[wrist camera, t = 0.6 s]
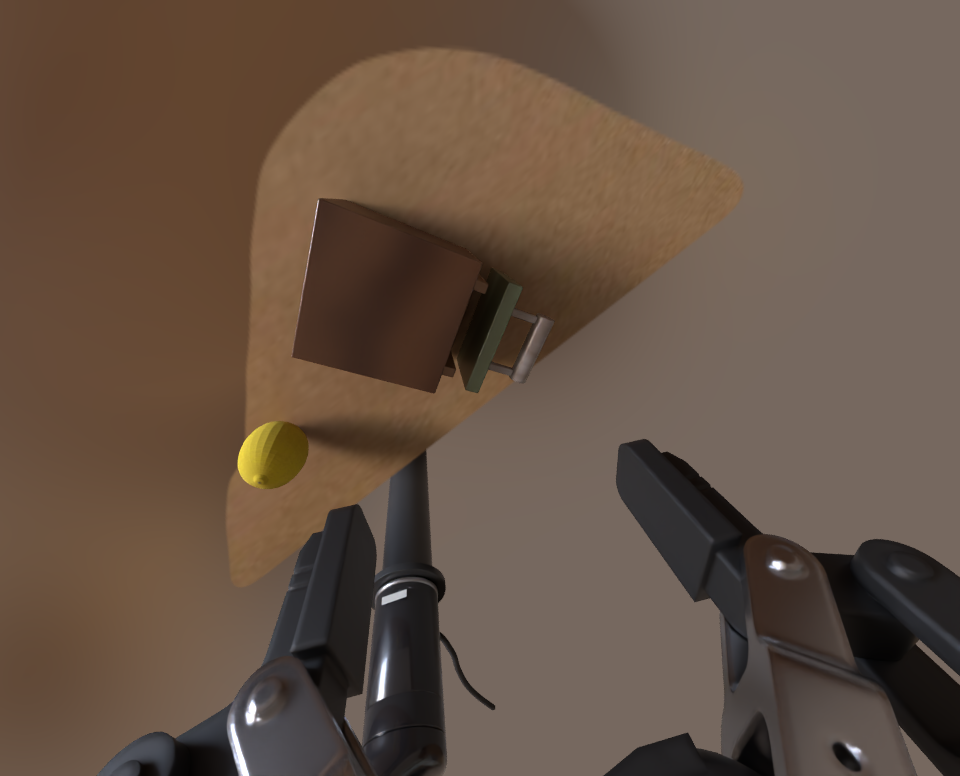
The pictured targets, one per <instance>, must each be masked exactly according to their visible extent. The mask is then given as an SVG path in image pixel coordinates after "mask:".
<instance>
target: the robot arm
mask: <svg viewBox="0 0 960 776" xmlns="http://www.w3.org/2000/svg"><path fill="white" fill-rule="evenodd" d="M616 484H617V488H618V492H619V494H620V496H621V499H622V500H623V502H624V503H625V504H626V506H627V507H628V509H629V510H630V511H631V513H632V514H633V516H634V517H635V519H636V520H637V521H638V523H639V524H640V525H641V527H642V528H643V530H644V531H645V533H646V534H647V535H648V537H649V538H650V540H651V541H652V543H653V544H654V545H655V547H656V548H657V550H658V551H659V552H660V554H661V555H662V557H663V558H664V560H665V561H666V562H667V564H668V565H669V567H670V568H671V569H672V571H673V572H674V573H675V575H676V576H677V578H678V579H679V581H680V582H681V583H682V585H683V586H684V588H685V589H686V591H687V592H688V593H689V595H690V596H691V598H692V599H693V600H694V602H697V601H701V600H705V599H708V598H711V599H712V601H713V602H714V603H715V605H716V606H717V607H718V608H719V610H720V632H721V648H722V665H723V680H724V709H723V715H722V725H721V752H722V755H721V754H718V753H716V752H712V751H707V750H704V749H697V748H696V747H695V745H694V743H693V741H692V739H691V737H690V736H689V734H688V733H685V734H681V735H678V736H675V737H672V738H668V739H665V740H662V741H658V742H655V743H652V744H648V745H645V746H642V747H639V748H637V749H635V750H634V751H633V752H632V753H631V754H630V755H628V756H627V757H626V758H624V759H623V760H622V761H621V762H620V763H618V764H617V765H616V766H615V767H614V768H612V769H611V770H610V771H609V772H608V773H606V774H605V775H604V776H917V774H916V771H915V769H914V766H913V763H912V760H911V758H910V755H909V752H908V749H907V747H906V744H905V742H904V739H903V736H902V733H901V731H900V728H899V726H900V727H901V728H902V729H903V730H904V731H905V732H906V734H907V735H908V736H909V737H910V738H911V739H912V740H913V742H914V743H915V744H916V745H917V746H918V747H919V748H920V750H921V751H922V752H923V753H924V754H925V755H926V756H927V757H928V759H929V760H930V761H931V762H932V763H933V764H934V765H935V767H936V768H937V769H938V770H939V771H940V772H941V773H942V774H943V776H960V685H959V684H958V683H957V682H955V681H954V680H953V679H952V678H951V677H950V676H949V675H948V674H947V673H946V672H945V671H944V670H943V669H942V668H940V667H939V666H938V665H937V664H936V663H935V662H934V661H933V660H932V659H931V658H930V657H929V656H927V655H926V654H925V653H924V652H923V651H922V650H921V649H920V648H919V647H918V646H917V645H916V642H918V640H919V639H920V640H921V641H922V642H923V643H924V644H925V645H926V646H927V647H929V648H930V649H931V650H932V651H933V652H934V653H935V654H936V655H937V656H938V657H939V658H941V659H942V660H943V661H944V662H945V663H946V664H947V665H948V666H949V667H950V668H952V669H953V670H954V671H955V672H956V673H957V674H958V675H959V676H960V577H958V576H957V575H956V574H955V573H953V572H952V571H950V570H949V569H948V568H946V567H945V566H943V565H942V564H940V563H939V562H938V561H936V560H935V559H933V558H932V557H930V556H928V555H926V554H925V553H923V552H920V551H919V550H916V549H915V548H912V547H910V546H907V545H904V544H901V543H898V542H894V541H889V540H883V539H882V540H881V539H873V540H868V541H866V542H864V543H862V544H861V546H860V547H859V549H858V550H857V552H856V554H855V555H842V554H825V553H811V552H809V551H808V550H806V549H805V548H803V547H802V546H800V545H799V544H797V543H795V542H793V541H790V540H788V539H786V538H783V537H779V536H775V535H768V534H763V533H761V532H760V531H759V530H758V529H757V528H756V527H754V526H753V525H752V524H751V523H750V522H749V521H748V520H747V519H746V518H745V517H744V516H743V515H742V514H741V513H740V512H738V511H737V510H736V509H735V508H734V507H733V506H732V505H731V504H730V503H729V502H728V501H727V500H726V499H725V498H724V497H723V496H721V494H719V493H718V492H717V491H716V490H715V489H714V488H711V487H710V484H709V483H708V482H707V481H706V480H704V478H702V477H700V476H699V474H698V473H697V472H696V471H695V470H694V469H693V468H692V467H691V466H690V465H689V464H688V463H686V462H685V461H684V460H682V459H680V458H678V457H676V456H674V455H673V454H671V453H669V452H663V453H661V452H660V451H658V449H657V448H656V447H655V446H654V445H653V444H652V443H651V442H649V441H648V440H646V439H642V440H637V441H633V442H629V443H624V444H621V445H620V446H619V450H618V462H617V475H616ZM376 556H377V555H376V545H375V540H374V538H373V535H372V533H371V530H370V528H369V525H368V523H367V521H366V519H365V516H364V514H363V512H362V509H361V508H360V506H359V505H358V504H356V505H351V506H347V507H342V508H338V509H333V510H331V511H330V512H329V514H328V516H327V520H326V524H325V527H324V531H322V532H318V533H313V534H312V536H311V537H310V538H309V540H308V541H307V543H306V544H305V545H304V547H303V548H302V550H301V551H300V553H299V556H298V559H297V562H296V565H295V569H294V575H292V578H291V581H290V584H289V591H288V592H287V593H286V596H285V599H284V602H283V605H282V608H281V611H280V614H279V617H278V621H277V623H276V626H275V629H274V633H273V635H272V639H271V642H270V645H269V648H268V651H267V654H266V657H265V659H264V662H263V664H262V666H261V668H259V669H258V670H257V671H256V672H255V673H253V674H252V675H251V676H250V678H249V679H248V680H247V681H246V682H245V684H244V685H243V686H242V688H241V689H240V690H239V692H238V694H237V696H236V697H235V699H234V701H233V702H232V703H231V704H229V705H228V706H227V707H225V708H224V709H223V710H221V711H220V712H218V713H216V714H215V715H213V716H211V717H210V718H208V719H207V720H205V721H203V722H202V723H200V724H198V725H197V726H195V727H193V728H192V729H190V730H189V731H187V732H185V733H183V734H182V735H180V736H179V737H177V738H173V737H172V736H170V735H169V734H167V733H164V732H154V733H149V734H147V735H145V736H142V737H141V738H139V739H137V740H135V741H133V742H132V743H131V744H129V745H128V746H127V747H125V748H124V749H123V750H121V751H120V752H119V753H118V754H117V755H116V756H115V757H114V758H113V759H111V760H110V761H109V762H108V763H107V765H106V766H105V767H104V768H103V769H102V770H101V771H100V772H99V774H98V775H97V776H442V775H443V774H444V772H445V769H446V764H447V749H446V732H445V715H444V702H443V701H444V700H443V685H442V668H441V650H440V640H441V641H442V643H443V644H444V646H445V647H446V649H447V650H448V652H449V653H450V655H451V657H452V660H453V663H454V667H455V670H456V672H457V674H458V676H459V678H460V680H461V682H462V683H463V685H464V686H465V687H466V689H467V690H468V691H469V692H470V693H471V694H472V695H473V696H474V697H475V698H477V699H478V700H479V701H480V702H482V703H483V704H484V705H486V706H487V707H489V708H490V709H491V710H494V709H495V705H494V704H492V703H491V702H490V701H488V700H487V699H485V698H484V697H483V696H481V695H480V694H479V693H478V692H477V691H476V690H475V689H474V688H472V686H471V685H470V684H469V683H468V681H467V680H466V678H465V676H464V674H463V672H462V670H461V668H460V665H459V661H458V658H457V655H456V652H455V651H454V649H453V647H452V645H451V644H450V642H449V641H448V639H447V638H446V637H445V636H444V635H443V634H442V633H441V632H439V617H438V616H439V615H438V589H437V586H436V584H435V583H434V582H433V581H432V580H431V579H429V578H427V577H424V576H420V575H404V576H399V577H396V578H393V579H391V580H389V581H387V582H385V583H384V584H383V585H381V586H380V587H379V589H378V590H377V592H376V597H375V615H374V624H373V634H372V644H371V655H370V665H369V676H368V687H367V697H366V707H365V719H364V729H363V740H362V746H361V744H360V742H359V741H358V738H357V737H356V735H355V733H354V731H353V730H352V728H351V726H350V724H349V722H348V720H347V719H346V718H345V716H344V715H345V707H346V699H347V698H348V697H352V696H356V695H360V694H362V691H363V683H364V672H365V664H366V654H367V645H368V635H369V625H370V615H371V607H372V597H373V588H374V578H375V568H376Z"/></svg>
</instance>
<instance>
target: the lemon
mask: <svg viewBox="0 0 960 776" xmlns="http://www.w3.org/2000/svg"><path fill="white" fill-rule="evenodd" d="M307 456H308V440H307V437H306V435H305V434H304V432H303V431H302V430H301V429H300V428H299V427H298V426H296V425H294V424H292V423H289V422H283V421H276V422H270V423H267V424H264V425H262V426H261V427H259V428H257V429H256V430H254V431H253V432H252V433H251V434H250V435H249V437H248V438H247V439H246V440H245V442H244V443H243V446H242V448H241V450H240V453H239V457H238V469H239V472H240V475H241V476H242V478H243V479H244V480H245V481H246V482H247V483H248V484H250V485H252V486H254V487H257V488H261V489H273V488H278V487H280V486H283V485H285V484H287V483H288V482H289V481H291V480H292V479H293V478H294V477H295V476H296V475H297V474H298V473H299V471H300V470H301V469H302V467H303V466H304V464H305V462H306V459H307Z"/></svg>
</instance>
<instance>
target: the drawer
mask: <svg viewBox="0 0 960 776" xmlns="http://www.w3.org/2000/svg"><path fill="white" fill-rule="evenodd" d="M522 289H523V287H522V286H521V285H519V284H518V283H517V282H515V281H514V280H513V279H511V278H510V277H509V276H508V275H506V274H505V273H504V272H502V271H500V270H497V269H495V268H491V269H490V272H489V275H488V277H487V280H486V281H485V280H484V279H483V278H482V277H481V276H480V275H478V278H477V281H476V284H475V286H474V289H473V290H474V291H477V292H479V293H481V296H480V298H479V301H478V304H477V306H476V309H475V311H474V314H473V317H472V319H471V322H470V325H469V327H468V330H467V332H466V335H465V338H464V340H463V343H462V346H461V348H460V351H459V353H458V356H457V361H458V365H459V369H460V372H461V376H462V380H463V383H464V387H465V390H468V391H471V392H475V393H478V392H479V390H480V387H481V385H482V383H483V380H484V378H485V376H486V373H487V371H488V369H489V370H492V371H495V372H499V373H502V374H506V375H509V377H510V378H511V379H512V380H514V381H516V382H519V383H525V382H526V380H527V378H528V376H529V373H530V371H531V369H532V367H533V365H534V363H535V361H536V359H537V357H538V355H539V353H540V351H541V349H542V347H543V345H544V342H545V340H546V338H547V336H548V334H549V332H550V330H551V328H552V326H553V324H554V322H555V321H554V320H553V319H551V318H550V317H548V316H545V315H543V314H539V313H537V315H536V316H535V315H533V314H530V313H528V312H525V311H522V310H519V309H517V308H515V305H516V303H517V301H518V298H519V296H520V294H521V291H522ZM511 316H514V317H516V318H519V319H522V320H525V321H528V322H531V323H533V324H532V326H531V328H530V330H529V332H528V334H527V337H526V339H525V341H524V343H523V345H522V348H521V350H520V352H519V354H518V356H517V359H516V361H515V363H514V365H513V367H512V368H511V367H508V366H505V365H501V364H498V363H495V362H492V359H493V357H494V355H495V352H496V350H497V348H498V345H499V343H500V340H501V338H502V336H503V333H504V331H505V329H506V326H507V324H508V322H509V319H510V317H511ZM455 371H456V368H455V364H454V360H453V356H452V352H451V351H450V354H449V357H448V359H447V362H446V365H445V367H444V370H443V373H442V375H445V376H449V377H453V376H454V373H455Z"/></svg>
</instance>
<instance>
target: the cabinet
mask: <svg viewBox="0 0 960 776" xmlns="http://www.w3.org/2000/svg"><path fill="white" fill-rule="evenodd" d="M482 265H483V263H482V262H481V261H480V260H479V259H477V258H476V257H475V256H474V255H473V254H472V253H470V252H469V251H468V250H467V249H466V248H463V247H461V246H458V245H456V244H453V243H451V242H448V241H446V240H443V239H441V238H438V237H436V236H433V235H431V234H428V233H426V232H423V231H421V230H419V229H416V228H414V227H411V226H409V225H406V224H404V223H401V222H399V221H396V220H394V219H391V218H389V217H386V216H384V215H381V214H379V213H377V212H374V211H372V210H369V209H367V208H364V207H362V206H359V205H357V204H354V203H352V202H349V201H347V200H343V199H325V198H319V199H318V204H317V210H316V215H315V221H314V227H313V233H312V239H311V245H310V250H309V256H308V262H307V268H306V274H305V280H304V286H303V291H302V297H301V303H300V309H299V315H298V321H297V326H296V332H295V338H294V344H293V350H292V357H294V358H298V359H302V360H305V361H309V362H313V363H317V364H321V365H325V366H329V367H333V368H337V369H341V370H344V371H348V372H352V373H356V374H360V375H364V376H368V377H372V378H376V379H380V380H383V381H387V382H391V383H395V384H399V385H403V386H407V387H411V388H415V389H419V390H423V391H426V392H430V393H435V392H436V389H437V386H438V384H439V381H440V378H441V375H442V373H443V370H444V367H445V365H446V362H447V359H448V357H449V354H450V351H451V348H452V346H453V343H454V340H455V338H456V335H457V332H458V329H459V327H460V324H461V321H462V319H463V316H464V313H465V311H466V308H467V305H468V302H469V300H470V297H471V294H472V292H473V289H474V286H475V284H476V281H477V278H478V275H479V273H480V270H481V267H482Z"/></svg>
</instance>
